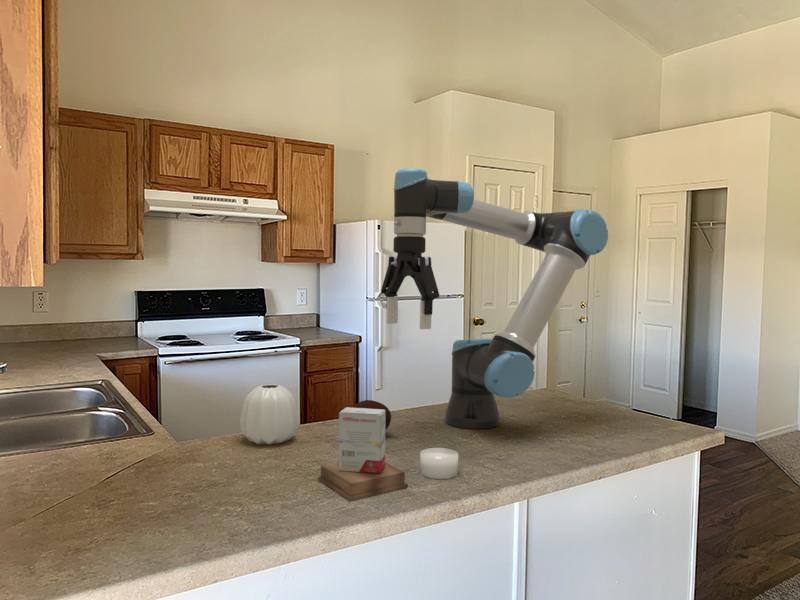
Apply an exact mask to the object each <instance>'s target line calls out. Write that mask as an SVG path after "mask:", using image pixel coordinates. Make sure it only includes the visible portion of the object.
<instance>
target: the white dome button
mask: <svg viewBox="0 0 800 600" xmlns="http://www.w3.org/2000/svg"><path fill="white" fill-rule="evenodd" d="M419 474H421V476H423V477H424V478H425V477H426V478H427V479H428V478H430V479H436V480H446V479H452V478H455V477H457V476H458V474H459V452H458V451H456V450H454V449H451V448H446V447H445V448H444V447H431V448H430V447H429V448H425V449H422V450H421V451H420V452H419Z"/></svg>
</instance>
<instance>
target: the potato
mask: <svg viewBox="0 0 800 600" xmlns="http://www.w3.org/2000/svg"><path fill="white" fill-rule="evenodd" d="M351 408H367V409H384V410H385V432H386V431H387V429H388V428H389V426H390V425H391V423H392V422H391V421H392V414H391V410H390V409H389V408H388V407H387V406H386V405H385V404H383V403H382V402H379V401H376V400H371V399H365V400H362V401H359V402H358V403H355V404H354V405H353V406H352V407H351Z"/></svg>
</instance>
